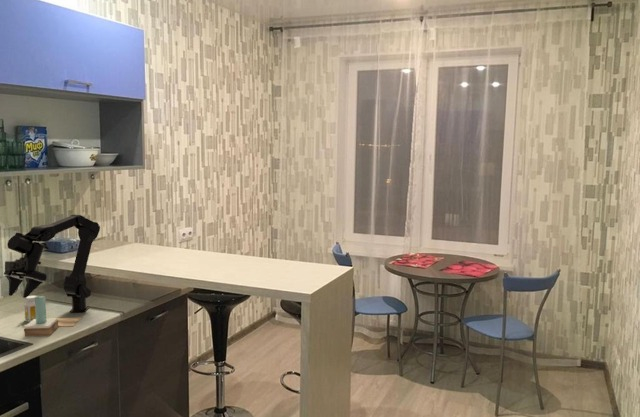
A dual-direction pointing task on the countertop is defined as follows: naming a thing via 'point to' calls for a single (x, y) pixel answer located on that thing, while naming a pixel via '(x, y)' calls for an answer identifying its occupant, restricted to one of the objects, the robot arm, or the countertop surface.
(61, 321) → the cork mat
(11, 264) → the robot arm
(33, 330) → the walnut box
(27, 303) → the supplement bottle
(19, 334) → the countertop surface
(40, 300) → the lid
